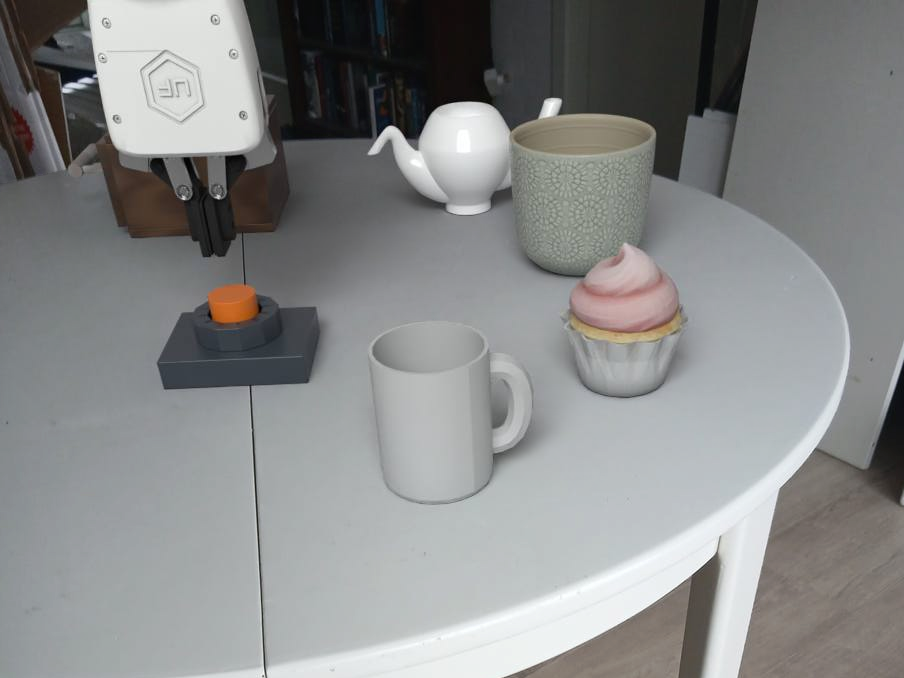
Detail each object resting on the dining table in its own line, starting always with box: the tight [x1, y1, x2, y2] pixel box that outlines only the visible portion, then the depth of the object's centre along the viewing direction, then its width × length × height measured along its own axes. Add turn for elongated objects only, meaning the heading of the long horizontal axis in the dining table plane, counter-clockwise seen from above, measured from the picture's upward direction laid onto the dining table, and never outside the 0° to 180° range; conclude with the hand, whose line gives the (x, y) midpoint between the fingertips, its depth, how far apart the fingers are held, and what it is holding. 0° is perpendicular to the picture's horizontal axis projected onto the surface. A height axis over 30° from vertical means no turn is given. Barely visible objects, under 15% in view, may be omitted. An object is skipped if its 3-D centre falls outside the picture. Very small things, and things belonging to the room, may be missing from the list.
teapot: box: [366, 97, 563, 216], centre depth 99 cm, size 10×20×9 cm, turn 105°
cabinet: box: [103, 94, 291, 239], centre depth 101 cm, size 15×13×10 cm
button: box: [207, 284, 259, 323], centre depth 75 cm, size 4×4×2 cm
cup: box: [367, 320, 534, 505], centre depth 61 cm, size 7×10×9 cm
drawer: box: [67, 135, 128, 228], centre depth 101 cm, size 18×11×8 cm, turn 91°
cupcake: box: [558, 243, 692, 398], centre depth 70 cm, size 9×9×10 cm
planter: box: [509, 113, 657, 277], centre depth 87 cm, size 12×12×11 cm
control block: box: [156, 293, 321, 390], centre depth 77 cm, size 11×9×4 cm
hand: (217, 249), depth 73 cm, fingers closed
